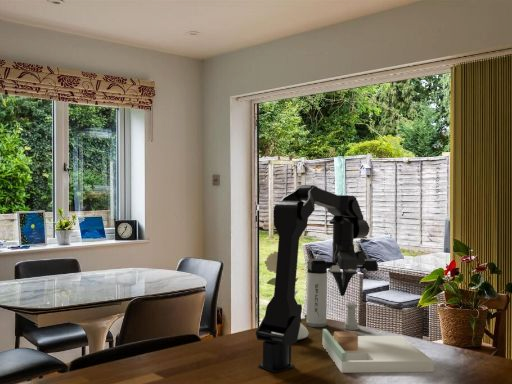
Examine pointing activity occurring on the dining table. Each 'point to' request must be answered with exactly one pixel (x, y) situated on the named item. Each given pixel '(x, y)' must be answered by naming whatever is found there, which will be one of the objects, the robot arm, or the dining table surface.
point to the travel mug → (316, 297)
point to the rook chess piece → (351, 317)
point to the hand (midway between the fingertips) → (342, 295)
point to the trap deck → (378, 355)
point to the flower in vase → (271, 266)
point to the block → (347, 340)
